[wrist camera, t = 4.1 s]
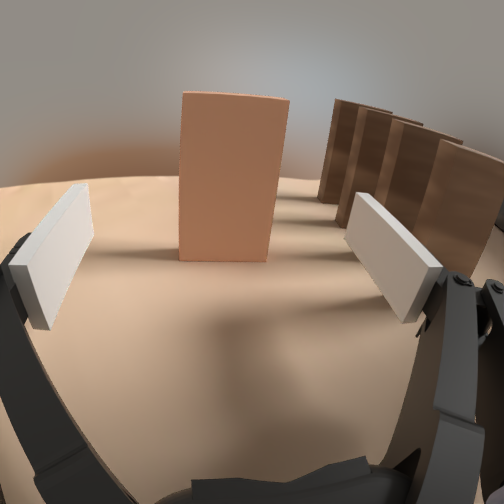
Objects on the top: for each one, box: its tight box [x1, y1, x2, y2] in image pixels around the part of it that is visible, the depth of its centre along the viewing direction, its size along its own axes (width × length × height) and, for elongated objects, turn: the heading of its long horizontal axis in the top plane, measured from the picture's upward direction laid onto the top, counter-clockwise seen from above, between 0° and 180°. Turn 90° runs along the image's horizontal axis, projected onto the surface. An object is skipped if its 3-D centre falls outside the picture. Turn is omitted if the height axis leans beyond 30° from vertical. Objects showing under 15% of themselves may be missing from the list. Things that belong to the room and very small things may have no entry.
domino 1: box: [179, 91, 290, 262], centre depth 20 cm, size 2×6×11 cm, turn 98°
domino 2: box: [317, 99, 392, 204], centre depth 31 cm, size 2×6×11 cm, turn 98°
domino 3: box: [335, 106, 423, 228], centre depth 27 cm, size 2×6×11 cm, turn 98°
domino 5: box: [412, 139, 504, 278], centre depth 18 cm, size 2×6×11 cm, turn 98°
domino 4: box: [374, 118, 463, 234], centre depth 22 cm, size 2×6×11 cm, turn 98°
